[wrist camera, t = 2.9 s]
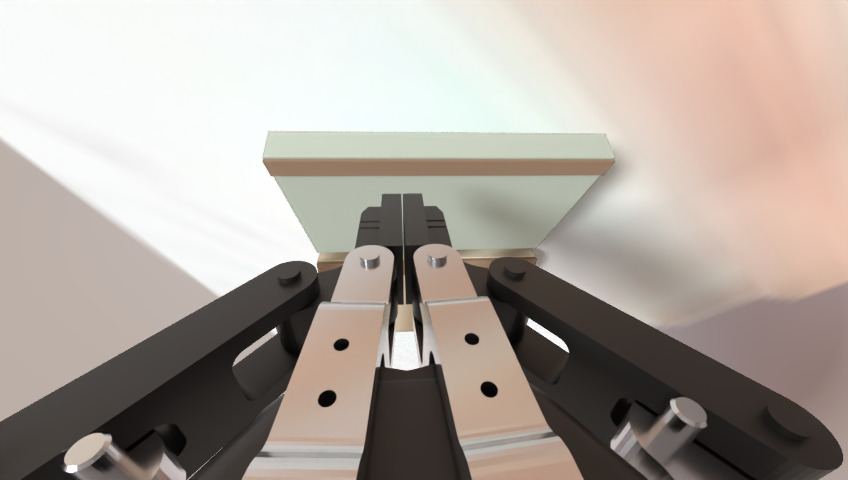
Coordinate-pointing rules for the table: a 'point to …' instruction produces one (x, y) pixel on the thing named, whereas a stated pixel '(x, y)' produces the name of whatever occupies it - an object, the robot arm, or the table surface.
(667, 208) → the table surface
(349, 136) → the sage plank
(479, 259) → the ash board
